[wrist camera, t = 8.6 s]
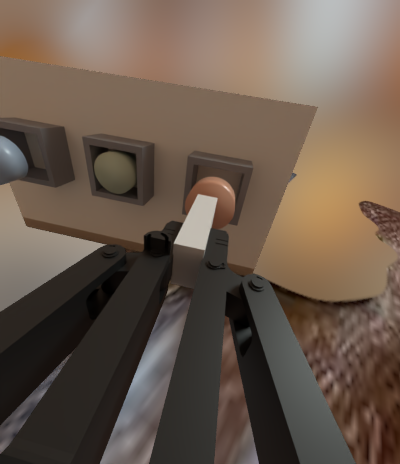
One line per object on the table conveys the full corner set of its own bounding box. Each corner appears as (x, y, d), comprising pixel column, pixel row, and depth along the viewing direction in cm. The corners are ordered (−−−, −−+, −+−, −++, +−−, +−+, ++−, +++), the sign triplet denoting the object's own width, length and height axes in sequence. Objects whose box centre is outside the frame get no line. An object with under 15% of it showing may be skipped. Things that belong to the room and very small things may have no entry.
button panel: (66, 205, 36) (31, 65, 25) (248, 244, 34) (295, 108, 23) (6, 236, 27) (-88, 39, 16) (252, 294, 24) (332, 106, 14)
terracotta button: (187, 214, 19) (193, 172, 16) (229, 223, 18) (240, 181, 16) (182, 224, 17) (187, 179, 15) (228, 234, 17) (240, 189, 14)
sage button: (108, 183, 22) (103, 145, 20) (142, 190, 22) (141, 152, 20) (97, 189, 20) (91, 148, 18) (133, 197, 20) (132, 156, 18)
